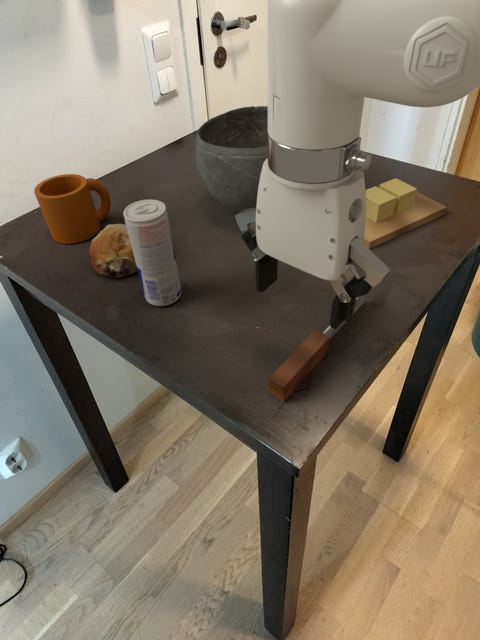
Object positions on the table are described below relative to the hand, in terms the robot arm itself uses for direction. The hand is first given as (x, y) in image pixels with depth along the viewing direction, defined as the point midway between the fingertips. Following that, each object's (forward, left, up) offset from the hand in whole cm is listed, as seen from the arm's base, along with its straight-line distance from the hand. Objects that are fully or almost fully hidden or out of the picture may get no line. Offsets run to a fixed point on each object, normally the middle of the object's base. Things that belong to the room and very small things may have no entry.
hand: (301, 302), depth 51 cm
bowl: (-18, -37, -11) cm, 42 cm away
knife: (-5, -1, -11) cm, 12 cm away
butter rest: (-36, -20, -10) cm, 42 cm away
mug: (+12, -49, -11) cm, 52 cm away
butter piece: (-31, -20, -10) cm, 38 cm away
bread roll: (+10, -35, -11) cm, 38 cm away
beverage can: (+8, -23, -11) cm, 27 cm away
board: (-34, -20, -11) cm, 41 cm away
